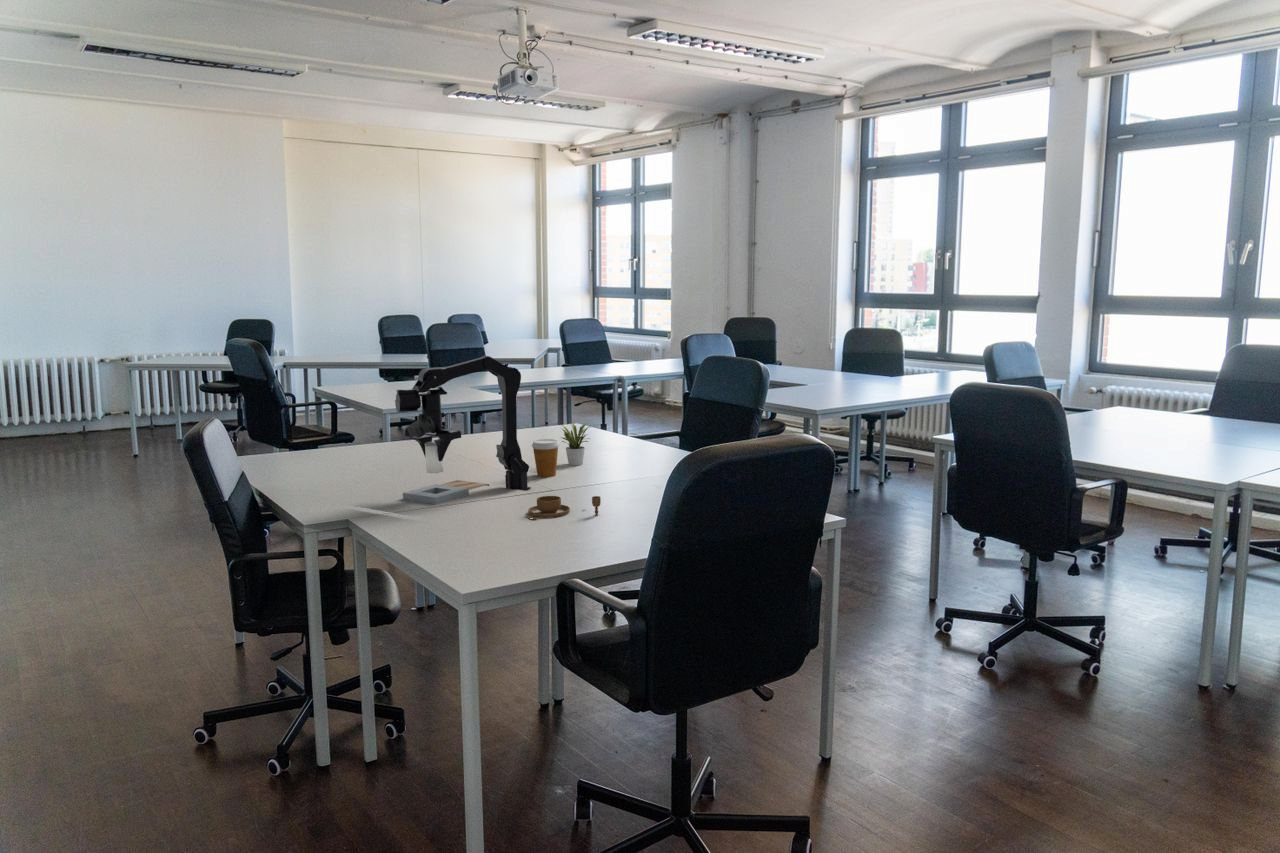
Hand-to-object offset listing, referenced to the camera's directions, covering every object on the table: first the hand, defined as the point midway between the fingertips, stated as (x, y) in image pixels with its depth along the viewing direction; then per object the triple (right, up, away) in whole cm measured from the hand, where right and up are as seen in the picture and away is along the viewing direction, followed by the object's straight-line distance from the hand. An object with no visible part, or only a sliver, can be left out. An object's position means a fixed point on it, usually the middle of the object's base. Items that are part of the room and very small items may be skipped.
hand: (434, 460), depth 278 cm
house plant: (+41, -4, +56) cm, 69 cm away
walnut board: (+4, -10, +17) cm, 20 cm away
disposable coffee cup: (+31, -7, +37) cm, 48 cm away
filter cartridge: (0, -4, +1) cm, 4 cm away
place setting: (+40, -16, -19) cm, 47 cm away
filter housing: (0, -12, +2) cm, 12 cm away
